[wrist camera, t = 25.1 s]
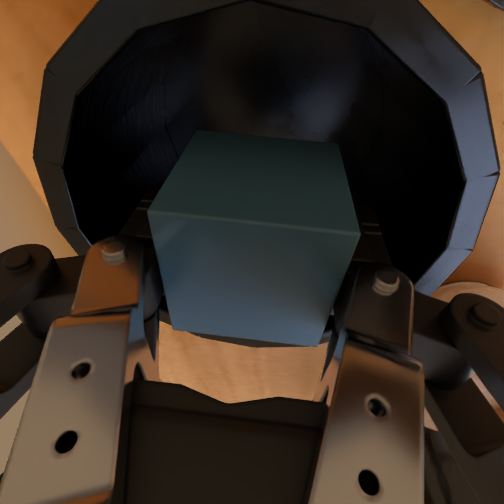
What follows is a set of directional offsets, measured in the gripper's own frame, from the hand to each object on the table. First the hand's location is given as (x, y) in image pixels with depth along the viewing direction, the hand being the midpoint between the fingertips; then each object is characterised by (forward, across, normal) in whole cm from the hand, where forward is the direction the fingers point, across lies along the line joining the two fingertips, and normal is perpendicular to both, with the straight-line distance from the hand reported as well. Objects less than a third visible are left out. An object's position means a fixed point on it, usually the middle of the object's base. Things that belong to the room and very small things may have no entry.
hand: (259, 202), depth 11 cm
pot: (+8, 0, 0) cm, 8 cm away
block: (0, 0, 0) cm, 0 cm away
